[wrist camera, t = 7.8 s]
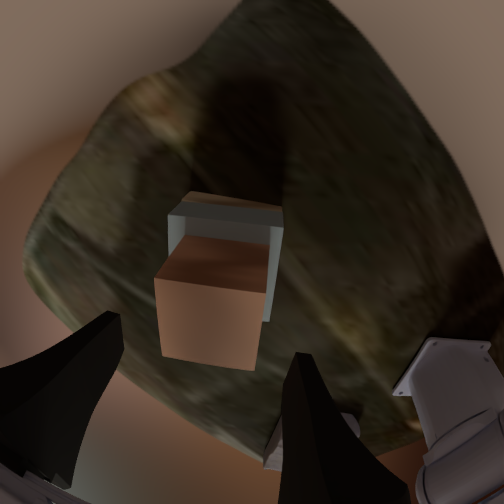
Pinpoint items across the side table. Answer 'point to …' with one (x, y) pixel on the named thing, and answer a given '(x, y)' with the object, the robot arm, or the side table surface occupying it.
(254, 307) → the terracotta cube
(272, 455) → the stone block
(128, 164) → the side table surface
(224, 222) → the top block
